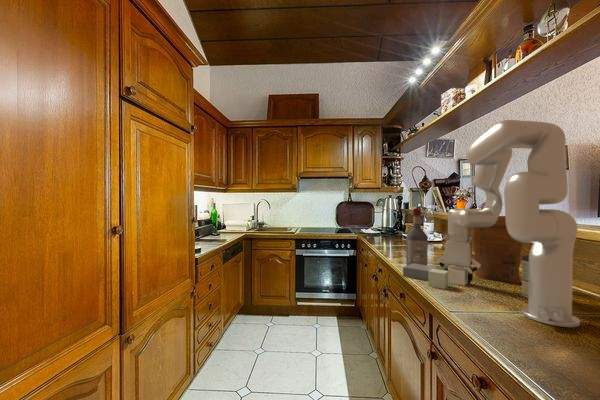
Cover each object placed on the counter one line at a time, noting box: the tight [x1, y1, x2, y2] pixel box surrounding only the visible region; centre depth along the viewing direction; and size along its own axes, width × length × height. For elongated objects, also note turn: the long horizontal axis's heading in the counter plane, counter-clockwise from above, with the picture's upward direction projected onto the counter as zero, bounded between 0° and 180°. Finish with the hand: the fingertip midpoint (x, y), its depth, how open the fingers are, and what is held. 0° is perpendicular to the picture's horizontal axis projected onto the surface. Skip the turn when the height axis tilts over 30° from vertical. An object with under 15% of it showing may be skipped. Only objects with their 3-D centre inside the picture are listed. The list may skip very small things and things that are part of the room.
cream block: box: [448, 265, 468, 287], centre depth 117 cm, size 6×6×6 cm
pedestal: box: [402, 263, 440, 282], centre depth 128 cm, size 12×12×4 cm
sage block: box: [427, 268, 449, 290], centre depth 113 cm, size 6×6×6 cm
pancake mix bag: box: [471, 215, 524, 284], centre depth 123 cm, size 7×19×28 cm, turn 50°
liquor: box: [405, 208, 429, 266], centre depth 144 cm, size 9×9×30 cm
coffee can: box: [520, 254, 529, 299], centre depth 100 cm, size 10×10×14 cm
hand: (457, 280), depth 117 cm, fingers open, 7 cm apart
